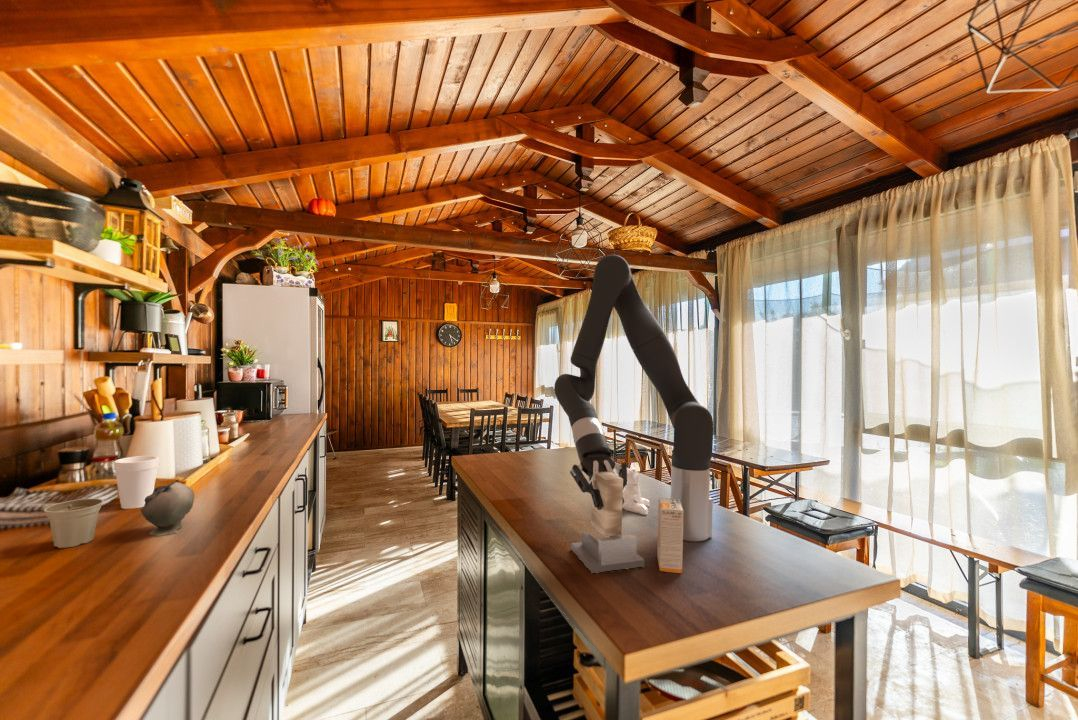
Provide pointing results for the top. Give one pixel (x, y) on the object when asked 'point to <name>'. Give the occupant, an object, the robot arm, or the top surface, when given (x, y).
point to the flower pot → (73, 521)
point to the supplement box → (670, 535)
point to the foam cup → (135, 479)
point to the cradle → (608, 552)
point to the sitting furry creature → (634, 494)
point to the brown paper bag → (608, 505)
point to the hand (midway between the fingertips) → (610, 507)
